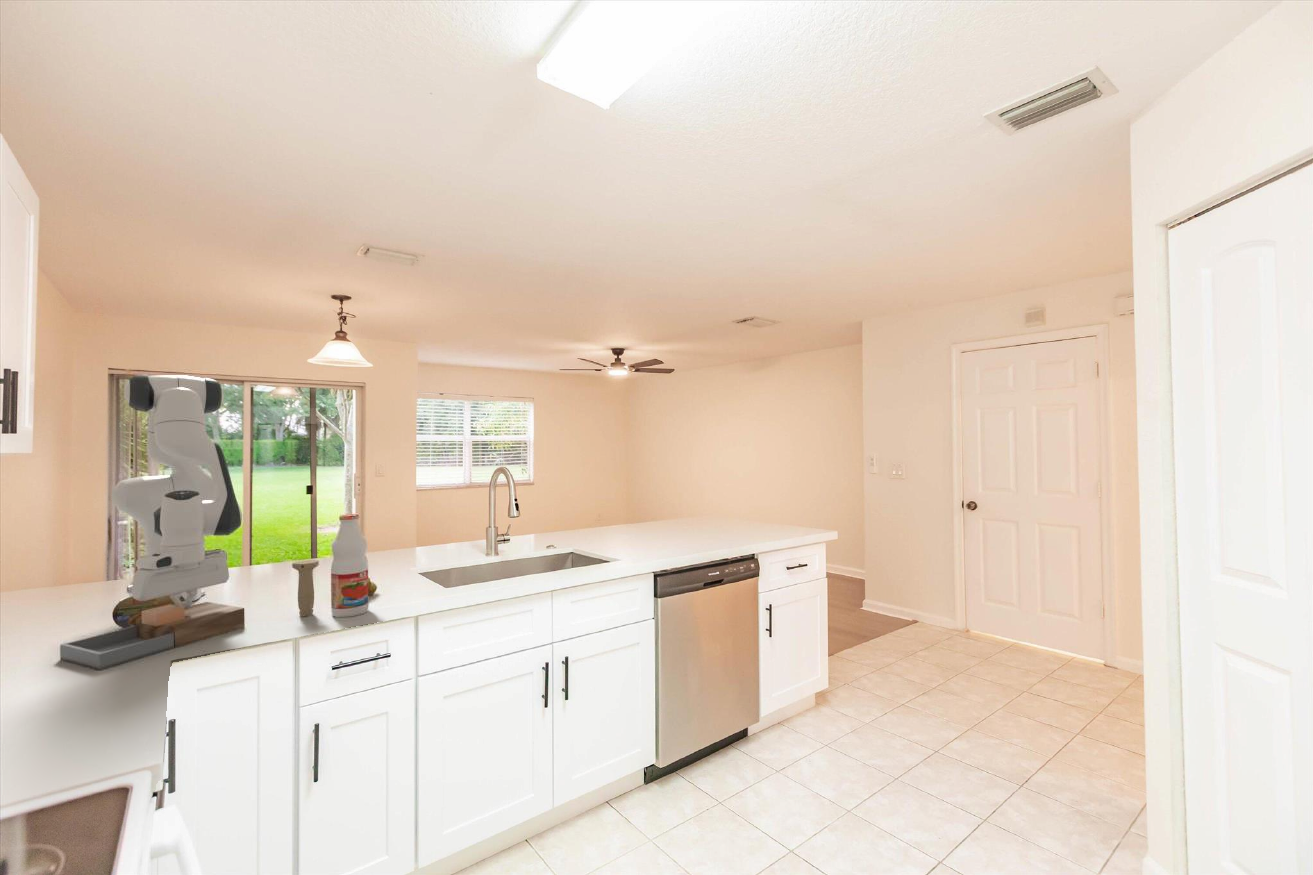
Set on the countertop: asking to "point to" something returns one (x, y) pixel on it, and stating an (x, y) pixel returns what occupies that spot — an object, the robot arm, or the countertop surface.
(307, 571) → the handle
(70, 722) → the countertop surface
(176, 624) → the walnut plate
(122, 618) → the tin
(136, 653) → the box
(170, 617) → the terracotta block
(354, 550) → the fruit juice
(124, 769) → the countertop surface
